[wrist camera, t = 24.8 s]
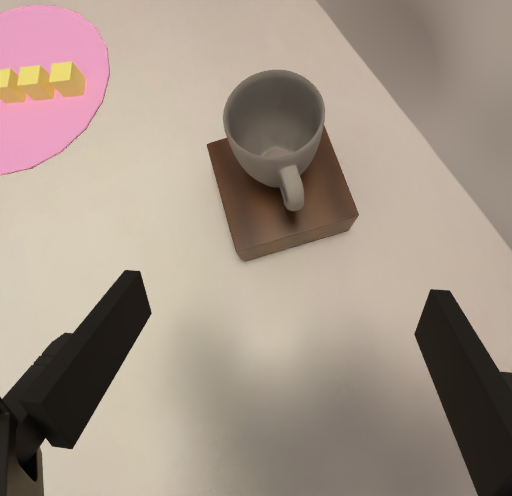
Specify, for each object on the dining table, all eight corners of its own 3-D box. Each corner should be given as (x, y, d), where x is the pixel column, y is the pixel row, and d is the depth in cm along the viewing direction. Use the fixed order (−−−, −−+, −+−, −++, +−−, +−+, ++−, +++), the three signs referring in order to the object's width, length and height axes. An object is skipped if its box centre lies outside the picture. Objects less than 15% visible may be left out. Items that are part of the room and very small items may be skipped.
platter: (101, 167, 45) (86, 155, 42) (-95, 183, 48) (-123, 173, 44) (116, -6, 52) (105, -28, 49) (-55, 17, 55) (-76, -2, 52)
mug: (231, 144, 37) (212, 85, 27) (302, 123, 36) (307, 55, 27) (257, 237, 34) (246, 207, 25) (335, 215, 34) (353, 175, 24)
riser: (313, 137, 43) (318, 108, 37) (348, 230, 39) (359, 215, 33) (217, 167, 43) (206, 143, 37) (243, 261, 40) (235, 252, 34)
